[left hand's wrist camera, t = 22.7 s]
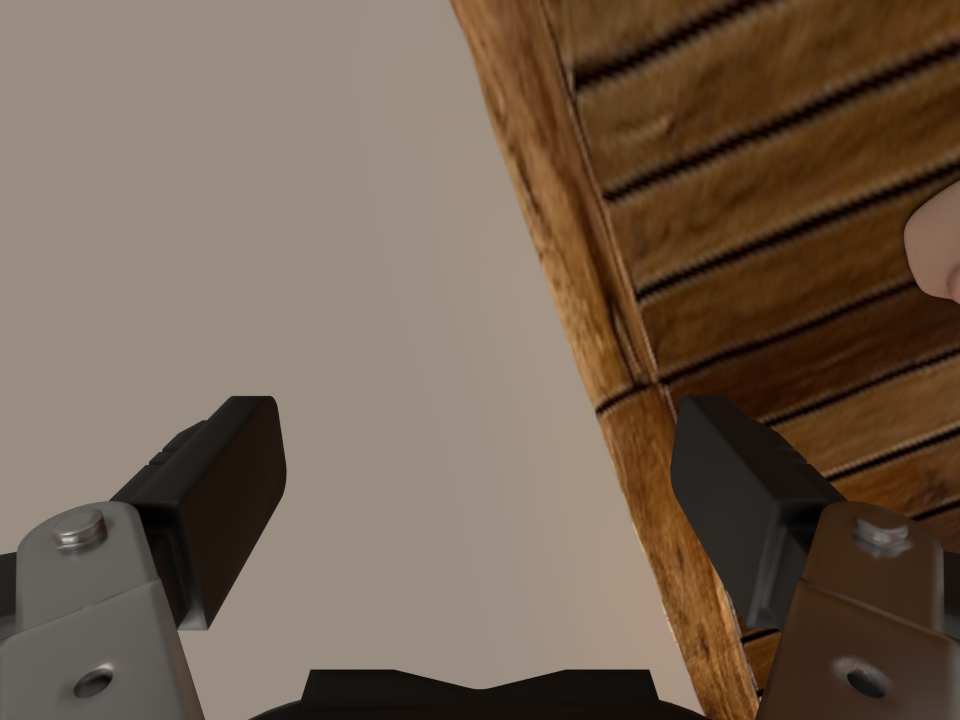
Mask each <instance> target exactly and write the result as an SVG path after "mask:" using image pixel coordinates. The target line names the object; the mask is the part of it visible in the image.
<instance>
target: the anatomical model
mask: <svg viewBox="0 0 960 720" xmlns="http://www.w3.org/2000/svg"><path fill="white" fill-rule="evenodd" d="M904 243H905V249H906V253H907V258H908V262H909V266H910V269H911V271H912V273H913V276H914V278H915V280H916V282H917V284H918V286H919V287H920V288H921V290H923V291H924V292H925V293H927V294H929V295H932V296H936V297H942V298H948V299H953V300H954V301H955V302H957V303H959V304H960V180H959V181H957V182H956V183H954V184H952V185H951V186H949V187H947V188H946V189H944V190H943V191H941V192H940V193H938V194H937V195H935V196H934V197H933V198H931V199H930V200H929V201H927V202H926V203H925V204H924V205H922V206H921V207H920V208H919V209H918V210H917V211H916V212H915V213H914V214H913V215H912V216H911V217H910V219H909V220H908V222H907V224H906V226H905V230H904Z"/></svg>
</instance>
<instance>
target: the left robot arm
mask: <svg viewBox="0 0 960 720" xmlns="http://www.w3.org/2000/svg"><path fill="white" fill-rule="evenodd" d="M671 483H672V488H673V492H674V495H675V497H676V499H677V501H678V502H679V504H680V506H681V508H682V510H683V512H684V513H685V515H686V517H687V519H688V521H689V522H690V524H691V526H692V528H693V530H694V531H695V533H696V535H697V537H698V539H699V541H700V542H701V544H702V546H703V548H704V550H705V551H706V553H707V555H708V557H709V559H710V561H711V562H712V564H713V566H714V568H715V570H716V571H717V573H718V575H719V577H720V579H721V581H722V582H723V584H724V586H725V588H726V590H727V591H728V593H729V595H730V597H731V599H732V600H733V602H734V604H735V606H736V608H737V610H738V611H739V613H740V615H741V617H742V619H743V620H744V622H745V624H746V626H747V628H778V629H779V630H780V632H781V634H782V635H781V638H780V641H779V645H778V648H777V651H776V654H775V657H774V660H773V664H772V667H771V670H770V673H769V676H768V680H767V683H766V686H765V689H764V692H763V696H762V699H761V702H760V705H759V708H758V711H757V715H756V718H755V720H960V554H956V553H951V552H946V551H943V549H942V546H941V544H940V542H939V541H938V540H937V538H936V537H935V536H934V535H933V534H932V533H931V532H930V531H929V530H927V529H926V528H925V527H923V526H922V525H920V524H919V523H917V522H916V521H914V520H912V519H910V518H908V517H906V516H904V515H902V514H900V513H898V512H895V511H893V510H890V509H887V508H884V507H881V506H877V505H873V504H868V503H863V502H854V501H848V500H847V499H845V498H844V497H843V496H842V495H841V494H840V493H839V492H838V491H837V490H836V489H835V488H834V487H833V486H832V485H831V484H830V483H829V482H828V481H827V480H826V479H825V478H824V477H823V476H822V475H821V474H820V473H819V472H818V471H817V470H816V469H815V468H814V467H813V466H812V465H811V464H807V460H806V459H804V458H803V457H802V456H801V455H800V454H799V453H798V452H797V451H794V450H793V447H792V446H791V445H790V444H789V443H788V442H787V441H786V440H785V439H784V438H783V437H782V436H781V435H780V434H779V433H778V432H776V431H774V430H772V429H770V428H769V427H767V426H765V425H763V424H761V423H759V422H757V421H756V420H749V419H748V418H747V417H746V416H745V415H744V414H743V413H742V412H741V410H740V409H739V408H738V407H737V406H736V405H735V404H734V403H733V402H732V401H731V400H730V399H729V398H728V397H727V396H725V395H686V396H684V397H683V398H682V400H681V402H680V406H679V412H678V419H677V426H676V433H675V440H674V446H673V453H672V460H671ZM285 484H286V461H285V454H284V447H283V440H282V433H281V427H280V420H279V413H278V407H277V404H276V401H275V399H274V398H273V397H272V396H231V397H230V398H229V399H228V400H227V401H226V402H225V403H224V404H223V405H222V406H221V407H220V408H219V409H218V410H217V411H216V412H215V413H214V414H213V415H212V416H211V417H210V418H209V419H208V420H203V421H201V422H199V423H197V424H195V425H193V426H191V427H190V428H188V429H186V430H184V431H182V432H180V433H179V434H177V435H176V436H175V437H174V438H173V439H172V440H171V441H170V442H169V443H168V444H167V445H166V446H165V447H164V448H163V451H162V452H159V453H158V454H157V455H156V456H155V457H154V458H153V459H152V460H151V461H150V462H149V465H145V466H144V467H143V468H142V469H141V470H140V471H139V472H138V473H137V474H136V475H135V476H134V477H133V478H132V479H131V480H130V481H129V482H128V483H127V484H126V485H125V486H124V487H123V488H122V489H121V490H119V491H118V492H117V493H116V494H115V495H114V496H113V497H112V498H111V499H110V500H109V501H107V502H97V503H92V504H87V505H83V506H79V507H76V508H73V509H70V510H67V511H65V512H63V513H60V514H58V515H56V516H54V517H52V518H50V519H48V520H46V521H44V522H43V523H41V524H40V525H38V526H37V527H35V528H34V529H33V530H31V531H30V532H29V533H28V534H27V535H26V536H25V537H24V538H23V540H22V541H21V542H20V544H19V546H18V549H17V552H14V553H8V554H3V555H0V720H205V718H204V715H203V711H202V708H201V705H200V702H199V699H198V696H197V693H196V689H195V686H194V683H193V680H192V676H191V673H190V670H189V667H188V664H187V661H186V657H185V654H184V651H183V648H182V645H181V641H180V638H179V635H178V632H177V630H208V629H209V627H210V625H211V624H212V622H213V620H214V618H215V616H216V615H217V613H218V611H219V609H220V607H221V606H222V604H223V602H224V600H225V599H226V597H227V595H228V593H229V591H230V590H231V588H232V586H233V584H234V582H235V581H236V579H237V577H238V575H239V573H240V572H241V570H242V568H243V566H244V564H245V563H246V561H247V559H248V557H249V555H250V554H251V552H252V550H253V548H254V546H255V545H256V543H257V541H258V539H259V538H260V536H261V534H262V532H263V530H264V529H265V527H266V525H267V523H268V521H269V520H270V518H271V516H272V514H273V512H274V511H275V509H276V507H277V505H278V503H279V502H280V500H281V498H282V496H283V493H284V489H285ZM249 720H711V719H709V718H707V717H705V716H703V715H701V714H698V713H696V712H694V711H692V710H689V709H686V708H684V707H681V706H678V705H675V704H672V703H669V702H666V701H662V700H659V698H658V695H657V692H656V689H655V686H654V683H653V679H652V676H651V673H650V670H562V671H558V672H554V673H550V674H546V675H542V676H538V677H534V678H530V679H526V680H522V681H517V682H513V683H509V684H505V685H501V686H497V687H493V688H489V689H471V688H467V687H463V686H459V685H455V684H451V683H447V682H443V681H438V680H434V679H430V678H426V677H422V676H418V675H414V674H410V673H406V672H401V671H398V670H310V673H309V676H308V680H307V683H306V686H305V689H304V692H303V695H302V698H301V700H298V701H295V702H291V703H288V704H285V705H282V706H279V707H277V708H273V709H271V710H268V711H266V712H264V713H262V714H259V715H257V716H255V717H253V718H251V719H249Z"/></svg>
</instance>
